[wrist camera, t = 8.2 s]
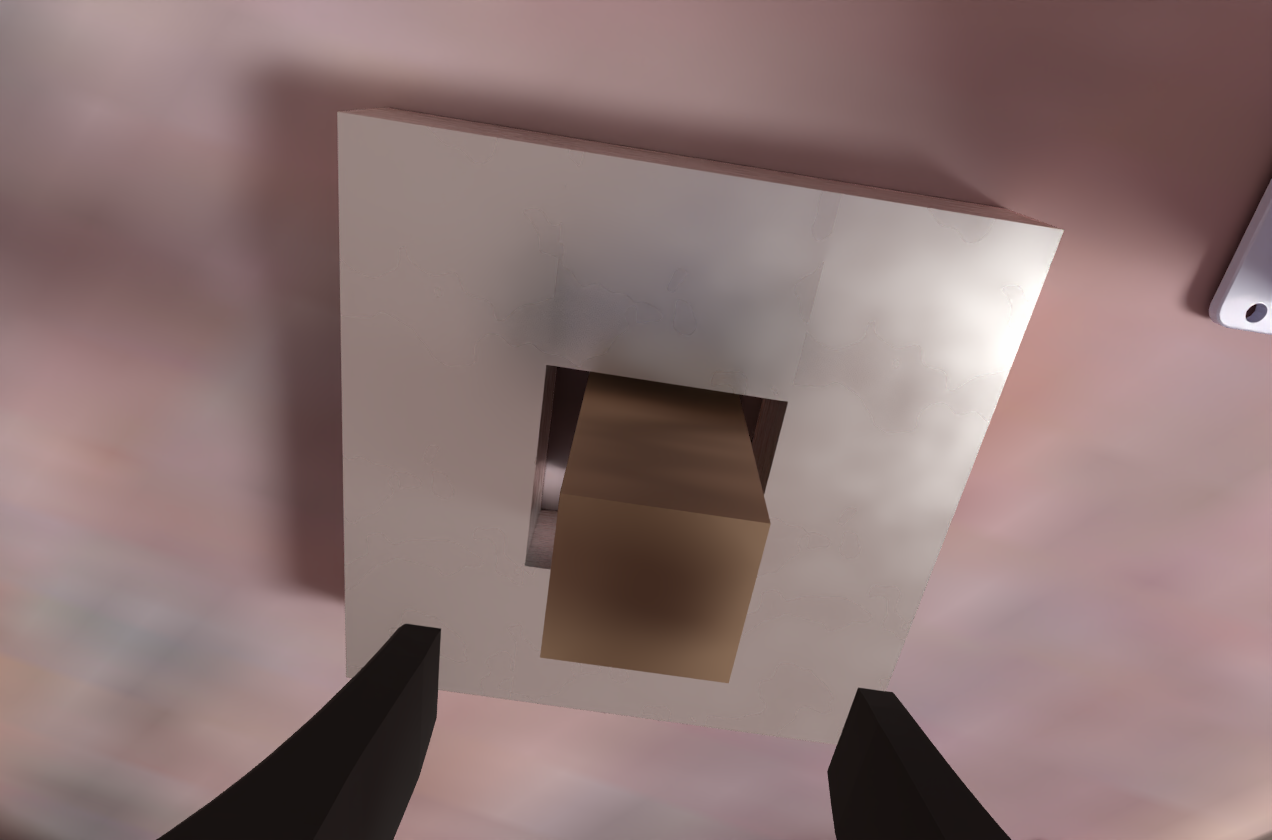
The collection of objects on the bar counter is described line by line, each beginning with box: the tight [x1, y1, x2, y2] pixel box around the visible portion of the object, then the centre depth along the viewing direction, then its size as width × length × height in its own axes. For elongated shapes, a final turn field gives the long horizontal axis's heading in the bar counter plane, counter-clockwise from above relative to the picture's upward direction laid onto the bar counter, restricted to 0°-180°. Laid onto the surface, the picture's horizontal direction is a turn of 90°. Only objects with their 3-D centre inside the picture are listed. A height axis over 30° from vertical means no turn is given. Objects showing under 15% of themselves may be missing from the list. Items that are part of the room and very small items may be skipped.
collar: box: [337, 107, 1064, 745], centre depth 21 cm, size 16×16×3 cm
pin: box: [540, 371, 771, 683], centre depth 18 cm, size 4×4×8 cm
